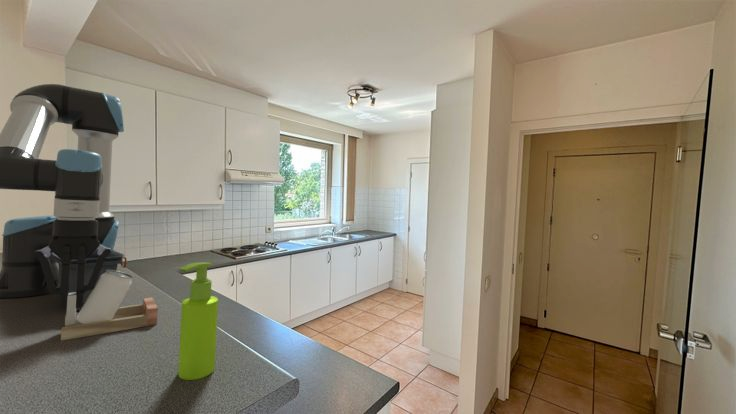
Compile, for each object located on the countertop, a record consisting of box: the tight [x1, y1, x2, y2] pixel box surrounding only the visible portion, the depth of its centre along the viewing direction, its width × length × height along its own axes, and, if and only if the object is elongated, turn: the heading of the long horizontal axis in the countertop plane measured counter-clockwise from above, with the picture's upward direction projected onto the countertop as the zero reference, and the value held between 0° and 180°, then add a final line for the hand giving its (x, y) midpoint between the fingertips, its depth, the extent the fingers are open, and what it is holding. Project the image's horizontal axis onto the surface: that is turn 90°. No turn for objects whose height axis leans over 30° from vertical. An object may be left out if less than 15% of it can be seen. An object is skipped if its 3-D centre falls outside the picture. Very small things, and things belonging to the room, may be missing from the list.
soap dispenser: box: [177, 261, 219, 381], centre depth 57 cm, size 6×7×20 cm
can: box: [76, 270, 133, 325], centre depth 74 cm, size 6×6×12 cm
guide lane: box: [60, 296, 159, 342], centre depth 75 cm, size 10×17×4 cm, turn 130°
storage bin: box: [51, 249, 128, 312], centre depth 91 cm, size 21×16×14 cm
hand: (70, 322), depth 71 cm, fingers closed
